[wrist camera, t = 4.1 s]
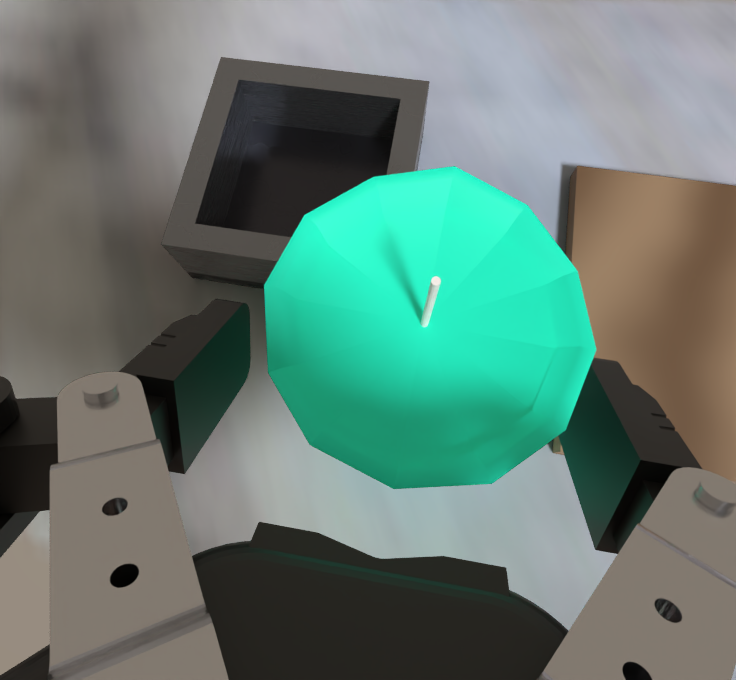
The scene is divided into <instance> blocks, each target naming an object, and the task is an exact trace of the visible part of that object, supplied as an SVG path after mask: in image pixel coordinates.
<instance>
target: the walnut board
mask: <svg viewBox="0 0 736 680" xmlns="http://www.w3.org/2000/svg"><path fill="white" fill-rule="evenodd" d="M565 255H566V256H567V258H568V259H569V260H570V262H571V263H572V264H573V265H574V267H575V268H576V269H577V271H578V274H579V279H580V283H581V287H582V291H583V295H584V299H585V304H586V308H587V312H588V316H589V320H590V325H591V329H592V333H593V337H594V341H595V346H596V352H595V355H594V358H601V359H607V360H614V361H617V362H619V364H620V365H621V367H622V368H623V370H624V371H625V373H626V375H627V376H628V378H629V379H630V381H631V383H632V384H633V385H638V386H640V387H641V388H642V389H643V390H645V391H646V392H647V393H648V394H650V395H651V396H652V397H653V398H655V399H656V400H657V402H658V403H659V405H660V406H661V408H662V409H663V411H664V412H665V414H666V415H667V416H666V418H669V420H670V421H671V423H672V424H673V426H674V427H675V431H677V432H678V433H679V435H680V436H681V438H682V439H683V441H684V442H685V444H686V445H687V446H688V448H689V449H690V451H691V452H692V454H693V455H694V457H695V458H696V460H697V461H698V463H699V464H700V466H701V467H702V469H703V470H707V471H710V472H712V473H715V474H718V475H720V476H722V477H724V478H726V479H728V480H730V481H731V482H733V483H735V484H736V186H733V185H725V184H717V183H710V182H702V181H694V180H686V179H678V178H670V177H662V176H654V175H646V174H639V173H631V172H623V171H615V170H607V169H599V168H591V167H583V166H577V167H576V169H575V170H574V172H573V174H572V175H571V177H570V189H569V204H568V220H567V236H566V251H565ZM553 453H556V454H562V455H564V452H563V449H562V446H561V443H560V440H559V436H557V437H556V438H554V439H553Z"/></svg>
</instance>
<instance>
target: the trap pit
mask: <svg viewBox="0 0 736 680" xmlns="http://www.w3.org/2000/svg"><path fill="white" fill-rule="evenodd" d="M428 89H429V81H421V80H412V79H404V78H395V77H387V76H378V75H369V74H361V73H352V72H344V71H335V70H327V69H318V68H310V67H301V66H292V65H284V64H275V63H267V62H258V61H250V60H241V59H232V58H224V57H221V59H220V62H219V65H218V68H217V72H216V75H215V78H214V81H213V84H212V87H211V90H210V93H209V96H208V100H207V103H206V106H205V109H204V112H203V115H202V118H201V121H200V124H199V127H198V131H197V134H196V137H195V140H194V143H193V146H192V149H191V152H190V155H189V159H188V162H187V165H186V168H185V171H184V174H183V177H182V180H181V183H180V187H179V190H178V193H177V196H176V199H175V202H174V205H173V208H172V211H171V215H170V218H169V221H168V224H167V227H166V230H165V233H164V236H163V239H162V243H161V245H162V246H163V247H164V248H165V249H166V250H167V251H168V252H169V253H170V254H171V255H172V256H173V257H174V259H175V260H176V261H177V262H178V263H179V264H180V265H181V266H182V267H183V268H184V269H185V270H186V271H187V273H188V274H189V275H190V276H191V277H192V278H198V279H204V280H211V281H217V282H224V283H230V284H237V285H244V286H250V287H257V288H263V289H264V284H265V283H266V281H267V279H268V278H269V276H270V274H271V272H272V271H273V269H274V267H275V265H276V264H277V262H278V260H279V258H280V257H281V255H282V253H283V251H284V250H285V248H286V246H287V244H288V243H289V241H290V239H291V237H292V236H293V234H294V232H295V231H296V229H297V227H298V225H299V224H300V222H301V220H302V218H303V217H304V215H305V214H307V213H309V212H311V211H313V210H314V209H316V208H318V207H320V206H322V205H323V204H325V203H327V202H329V201H331V200H332V199H334V198H336V197H338V196H340V195H341V194H343V193H345V192H347V191H349V190H350V189H352V188H354V187H356V186H358V185H359V184H361V183H363V182H365V181H367V180H368V179H370V178H372V177H375V176H383V175H391V174H398V173H406V172H414V171H417V167H418V161H419V155H420V149H421V143H422V137H423V130H424V122H425V113H426V105H427V97H428Z"/></svg>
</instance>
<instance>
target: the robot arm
mask: <svg viewBox="0 0 736 680" xmlns="http://www.w3.org/2000/svg"><path fill="white" fill-rule="evenodd" d="M249 368H250V315H249V308H248V305H247V304H246V303H240V302H233V301H227V300H220V299H215V300H214V301H212V302H211V303H210V304H209V305H208V306H207V307H206V308H205V309H204V310H203V311H202V312H201V313H200V314H199V315H198V316H196V315H190V316H188V317H186V318H183V319H181V320H179V321H176V322H174V323H173V324H171V325H170V326H169V327H168V328H167V329H166V330H165V331H164V332H163V333H161V336H158V337H157V338H156V339H155V340H154V341H153V342H151V345H148V346H147V347H146V348H145V349H144V350H143V351H141V352H140V353H139V354H138V355H137V356H136V357H135V358H134V359H133V360H131V361H130V362H129V363H128V364H127V365H126V366H125V367H124V368H123V369H121V370H120V371H119V372H101V373H95V374H91V375H87V376H84V377H82V378H79V379H77V380H75V381H73V382H71V383H70V384H68V385H67V386H66V387H64V388H63V389H62V390H61V392H60V393H59V395H58V397H51V398H26V399H16V398H15V395H14V392H13V389H12V386H11V383H10V382H9V381H8V380H7V379H6V378H4V377H1V376H0V557H1V556H2V555H3V554H4V553H5V552H6V550H7V549H8V548H9V547H10V545H11V544H12V543H13V542H14V541H15V540H16V539H17V537H18V536H19V535H20V534H21V533H22V532H23V530H24V529H25V528H26V527H27V526H28V525H29V523H30V522H31V521H32V520H33V519H34V517H35V516H36V515H37V514H38V513H39V512H40V511H44V510H50V644H49V645H48V646H46V647H45V648H43V649H42V650H40V651H38V652H37V653H35V654H34V655H32V656H30V657H29V658H27V659H26V660H24V661H23V662H21V663H20V664H18V665H17V666H15V667H13V668H11V669H10V670H8V671H7V672H5V673H4V674H2V675H0V680H731V678H732V675H733V671H734V668H735V664H736V484H735V483H733V482H731V481H730V480H728V479H726V478H724V477H722V476H720V475H718V474H715V473H712V472H710V471H707V470H703V469H702V467H701V466H700V464H699V463H698V461H697V460H696V458H695V457H694V455H693V454H692V452H691V451H690V449H689V448H688V446H687V445H686V444H685V442H684V441H683V439H682V438H681V436H680V435H679V433H678V432H677V431H675V427H674V426H673V424H672V423H671V421H670V420H669V418H666V416H667V415H666V414H665V412H664V411H663V409H662V408H661V406H660V405H659V403H658V402H657V400H656V399H655V398H653V397H652V396H651V395H650V394H648V393H647V392H646V391H645V390H643V389H642V388H641V387H640V386H638V385H633V384H632V383H631V381H630V379H629V378H628V376H627V375H626V373H625V371H624V370H623V368H622V367H621V365H620V364H619V362H617V361H614V360H607V359H601V358H594V357H593V360H592V363H591V365H590V368H589V371H588V373H587V376H586V378H585V381H584V384H583V386H582V389H581V391H580V394H579V397H578V399H577V402H576V405H575V407H574V410H573V412H572V415H571V418H570V420H569V423H568V425H567V428H566V430H565V431H564V432H563V433H561V434H560V435H558V436H559V440H560V443H561V446H562V449H563V452H564V455H565V458H566V461H567V464H568V467H569V470H570V473H571V476H572V480H573V483H574V486H575V489H576V492H577V495H578V498H579V501H580V504H581V507H582V510H583V513H584V516H585V519H586V523H587V526H588V529H589V532H590V535H591V538H592V541H593V544H594V547H595V550H599V551H605V552H610V553H616V554H618V555H617V556H616V558H615V560H614V561H613V563H612V564H611V566H610V567H609V569H608V571H607V572H606V574H605V575H604V577H603V578H602V580H601V581H600V583H599V585H598V586H597V588H596V589H595V591H594V592H593V594H592V596H591V597H590V599H589V600H588V602H587V603H586V605H585V607H584V608H583V610H582V611H581V613H580V614H579V616H578V618H577V619H576V621H575V622H574V624H573V625H572V627H571V629H570V630H569V631H568V630H567V629H566V628H565V627H564V626H563V625H562V624H561V623H559V622H558V621H557V620H556V619H555V618H553V617H552V616H551V615H550V614H549V613H547V612H546V611H544V610H543V609H542V608H540V607H539V606H537V605H536V604H534V603H533V602H531V601H529V600H528V599H526V598H524V597H522V596H520V595H519V594H517V593H515V592H512V591H510V590H509V586H508V579H507V571H506V568H505V567H499V566H494V565H488V564H483V563H478V562H472V561H467V560H462V559H456V558H451V557H445V556H437V557H415V558H394V559H379V558H375V557H372V556H370V555H367V554H365V553H363V552H361V551H358V550H356V549H354V548H351V547H349V546H347V545H345V544H342V543H340V542H338V541H336V540H333V539H331V538H329V537H326V536H324V535H322V534H320V533H316V532H311V531H305V530H300V529H295V528H289V527H284V526H279V525H273V524H268V523H262V522H259V523H258V525H257V528H256V530H255V533H254V535H253V537H252V540H251V541H244V542H237V543H230V544H225V545H222V546H218V547H214V548H211V549H208V550H205V551H203V552H200V553H197V554H195V555H193V556H192V555H191V552H190V548H189V544H188V541H187V537H186V533H185V530H184V526H183V522H182V519H181V515H180V511H179V508H178V504H177V500H176V497H175V493H174V489H173V486H172V482H171V478H170V475H169V471H170V472H176V473H182V474H185V473H186V471H187V470H188V468H189V467H190V465H191V464H192V462H193V461H194V459H195V457H196V456H197V454H198V453H199V451H200V450H201V448H202V447H203V445H204V444H205V442H206V441H207V439H208V438H209V436H210V435H211V433H212V432H213V430H214V429H215V427H216V425H217V424H218V422H219V421H220V419H221V418H222V416H223V415H224V413H225V412H226V410H227V409H228V407H229V406H230V404H231V403H232V401H233V400H234V398H235V396H236V395H237V393H238V392H239V390H240V389H241V387H242V386H243V384H244V383H245V381H246V378H247V376H248V372H249Z"/></svg>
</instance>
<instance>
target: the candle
mask: <svg viewBox="0 0 736 680" xmlns="http://www.w3.org/2000/svg"><path fill="white" fill-rule="evenodd" d="M264 296H265V318H266V340H267V362H268V373H269V375H270V377H271V379H272V380H273V382H274V384H275V386H276V387H277V389H278V391H279V392H280V394H281V396H282V398H283V399H284V401H285V403H286V405H287V406H288V408H289V410H290V411H291V413H292V415H293V417H294V418H295V420H296V422H297V424H298V425H299V427H300V429H301V430H302V432H303V434H304V436H305V437H306V439H307V441H308V443H309V444H310V445H311V446H313V447H315V448H317V449H319V450H321V451H322V452H324V453H326V454H328V455H330V456H332V457H334V458H336V459H338V460H340V461H342V462H343V463H345V464H347V465H349V466H351V467H353V468H355V469H357V470H359V471H361V472H362V473H364V474H366V475H368V476H370V477H372V478H374V479H376V480H378V481H380V482H382V483H383V484H385V485H387V486H389V487H391V488H393V489H402V488H421V487H440V486H459V485H478V484H492V483H493V482H495V481H496V480H498V479H499V478H500V477H502V476H503V475H505V474H506V473H507V472H509V471H510V470H511V469H513V468H514V467H516V466H517V465H518V464H520V463H521V462H522V461H524V460H525V459H527V458H528V457H529V456H531V455H532V454H534V453H535V452H536V451H538V450H539V449H540V448H542V447H543V446H545V445H546V444H547V443H549V442H550V441H551V440H553V439H554V438H556V437H557V436H558V435H560V434H561V433H563V432H564V431H565V430H566V428H567V425H568V423H569V420H570V418H571V415H572V412H573V410H574V407H575V405H576V402H577V399H578V397H579V394H580V391H581V389H582V386H583V384H584V381H585V378H586V376H587V373H588V371H589V368H590V365H591V363H592V360H593V357H594V355H595V352H596V346H595V341H594V337H593V333H592V329H591V325H590V320H589V316H588V312H587V308H586V304H585V299H584V295H583V291H582V287H581V283H580V279H579V274H578V271H577V269H576V268H575V267H574V265H573V264H572V263H571V262H570V260H569V259H568V258H567V256H566V255H565V254H564V252H563V251H562V250H561V248H560V247H559V246H558V244H557V243H556V242H555V241H554V239H553V238H552V237H551V235H550V234H549V233H548V231H547V230H546V229H545V227H544V226H543V225H542V223H541V222H540V221H539V220H538V218H537V217H536V216H535V214H534V213H533V212H532V210H531V209H530V208H529V206H528V205H526V204H524V203H522V202H521V201H519V200H517V199H515V198H513V197H511V196H509V195H508V194H506V193H504V192H502V191H500V190H498V189H496V188H494V187H493V186H491V185H489V184H487V183H485V182H483V181H481V180H479V179H478V178H476V177H474V176H472V175H470V174H468V173H466V172H464V171H463V170H461V169H459V168H457V167H455V166H453V167H445V168H437V169H429V170H422V171H414V172H406V173H398V174H391V175H383V176H375V177H372V178H370V179H368V180H367V181H365V182H363V183H361V184H359V185H358V186H356V187H354V188H352V189H350V190H349V191H347V192H345V193H343V194H341V195H340V196H338V197H336V198H334V199H332V200H331V201H329V202H327V203H325V204H323V205H322V206H320V207H318V208H316V209H314V210H313V211H311V212H309V213H307V214H305V215H304V217H303V218H302V220H301V222H300V224H299V225H298V227H297V229H296V231H295V232H294V234H293V236H292V237H291V239H290V241H289V243H288V244H287V246H286V248H285V250H284V251H283V253H282V255H281V257H280V258H279V260H278V262H277V264H276V265H275V267H274V269H273V271H272V272H271V274H270V276H269V278H268V279H267V281H266V283H265V284H264Z"/></svg>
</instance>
